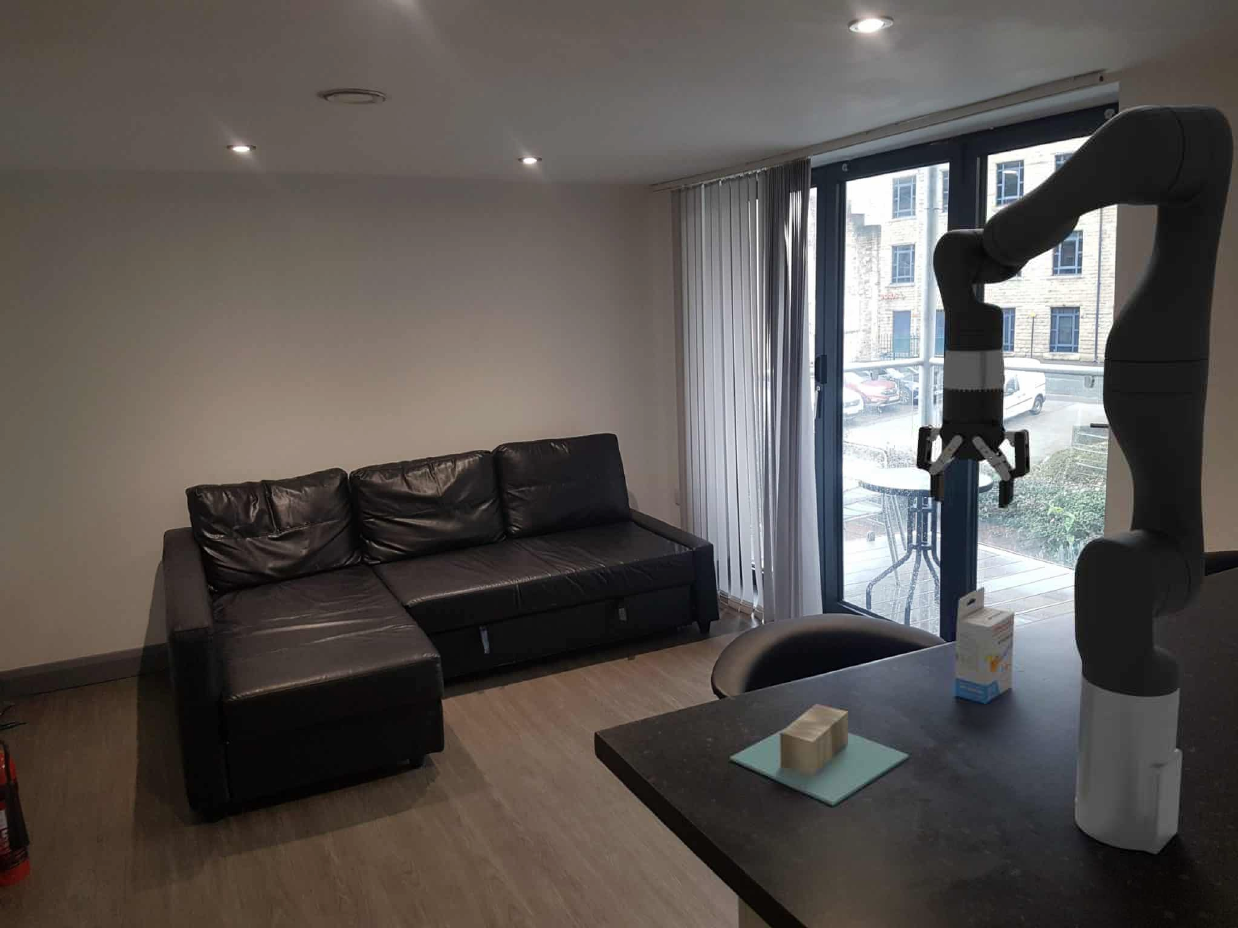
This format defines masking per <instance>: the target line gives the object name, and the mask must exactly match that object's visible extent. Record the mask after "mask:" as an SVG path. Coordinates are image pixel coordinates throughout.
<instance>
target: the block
mask: <svg viewBox="0 0 1238 928" xmlns="http://www.w3.org/2000/svg"><path fill="white" fill-rule="evenodd" d="M783 729H784V730H783ZM783 729H782V730H783V731H782V732H780V758H781V766H782V767H786V768H789V769H792V770H796V771H799V772H802V773H805V774H809V775H812V776H813V775H815V774H816V773H817V772H818V771H819V770H820V769H821V768H822V767H823V766H824V765H825V764H827V763H828V762H829V761H830V760H831V759H832V758H833V757H834V756H835V755H836V754H837V753H839V752H840V751H841V750H842V749H843V748H844V747H845V746H846V745H847V744H848V732H849V711H848V710H843V709H838V708H835V707H830V706H827V705H824V704H823V705H822V704H818V703H815V704H814V705H813V706H812V707H810V708H809V709H808V710H806V712H804V713H803V714H802V715H800V716H799V717H798V718H797V719H796V720H794V721H793V722H791V723H790V724H789V725H788V726H787V727H785V728H783Z"/></svg>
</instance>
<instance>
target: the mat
mask: <svg viewBox="0 0 1238 928" xmlns="http://www.w3.org/2000/svg"><path fill="white" fill-rule="evenodd" d="M784 729H785V728H783V729H781V730H779V731H778V732H775V733H773V734H772V735H770V736H768V737H766V738H764V739H762V740H760V741H758V742H756V743H754V744H752V745H751V746H749V747H747V748H745V749H743V750H741V751H740V752H737V753H735V754H734V755H731V756H729V757H730V758H729V759H730V761H732V762H734V763H737V764H738V765H741V766H742V767H745V768H747V769H750V770H752V771H755V772H757V773H759V774H760V775H764V776H766V777H769V778H771V779H772V780H775V781H777V782H780V783H781V784H783V785H786V786H787V787H790V788H792V789H794V790H797V791H799V792H802V793H804V794H806V795H807V796H810V797H812V798H815V799H817V800H819V801H822V802H824V803H826V804H828V805H831V806H833V807H834V806H835V805H837V804H838V803H840V802H841V801H843V800H845V799H846V798H848V797H849V796H851V795H853V794H855V793H856V792H857V791H858V790H860V789H862V788H863V787H865V786H867V785H869V784H870V783H871V782H873V781H874V780H876V779H878V778H879V777H881V776H882V775H884V774H886V772H888V771H890V770H892V769H893V768H895V767H896V766H897V765H900V764H901V763H902V762H905V761H906V760H907V759H908V758H909V754H908V753H904V752H902V751H899V750H897V749H894V748H891V747H888V746H886V745H883V744H880V743H878V742H875V741H874V740H873V741H872V740H870V739H868V738H864V737H862V736H859V735H856V734H853V733H851V732H849V731H848V744H847V745H846V746H845V747H844V748H843V749H842V750H841V751H840V752H839V753H837V754H836V755H835V756H834V757H833V758H832V759H831V760H830V761H829V762H828V763H827V764H825V765H824V766H823V767H822V768H821V769H820V770H819V771H818V772H817V773H816V774H815V775H813V776H812V775H809V774H805V773H802V772H799V771H796V770H792V769H789V768H786V767H782V766H781V758H780V732H782V731H783V730H784Z"/></svg>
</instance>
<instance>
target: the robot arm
mask: <svg viewBox="0 0 1238 928" xmlns="http://www.w3.org/2000/svg"><path fill="white" fill-rule="evenodd" d="M1229 122H1230V121H1229V119H1228V118H1227V116H1226V115H1225V114H1224V113H1223V112H1222V111H1221V110H1220V109H1218V107H1214V106H1212V105H1205V104H1147V105H1139V106H1134V107H1130V108H1127V109H1124V110H1121V111H1120V112H1118V113H1117V114H1115V115H1114V116H1113V117H1111V118H1110V119H1109V120H1107V121H1106V122H1105V123H1104V124H1103V125H1102V126H1101V127H1099V128H1098V129H1096V131H1094V133H1093V134H1092V135H1091V136H1089V138H1088V139H1087V140H1086V141H1084V142H1083V143H1082V144H1081V146H1080V147H1079V148H1077V149H1076V151H1074V153H1072V154H1071V155H1070V156H1069V157H1068V158H1067V159H1066V160H1065V161H1063V163H1062V164H1060V165H1059V167H1057V168H1056V170H1054V172H1052V173H1051V174H1050V175H1049V176H1048V177H1047V178H1046V179H1045V180H1043V181H1042V182H1041V183H1040V184H1039V185H1037V186H1036V187H1034V188H1033V189H1031V190H1029V192H1027V193H1025V194H1024V195H1022V196H1021V197H1019V198H1017V199H1015V200H1014V201H1012V202H1011V203H1009V204H1007V205H1006V206H1004V207H1003V208H1001V209H999V210H998V211H997V212H995V213H994V214H993V215H992V216H991V217H990V218H989V219H988V220H987V222H986V223H985V225H984V228H972V229H971V228H970V229H967V228H966V229H953V230H949V231H947V232H945V233H943V235H941V237H940V238H939V239H938V241H937V242H936V244H935V247H934V250H933V254H932V255H933V256H932V267H933V272H934V276H935V280H936V284H937V287H938V290H939V294H940V298H941V302H942V308H943V312H944V315H945V322H946V325H945V330H946V331H945V333H946V334H945V356H944V363H943V380H942V381H943V383H942V385H943V388H942V389H943V391H942V396H943V397H942V425H941V427H940V426H939V427H938V426H933V425H932V424H931V423H929V424H925V425H922V426H920V427H919V428H918V435H917V447H916V449H917V451H916V462H915V463H916V464H915V465H916V468H917V469H918V470H923V471H925V472H927V473H928V474H929V478H930V479H929V494H930V497H931V498H933V501H934V502H937V503H941V502H943V501H944V500H945V492H946V491H945V483H946V481H945V480H946V474H945V473H944V471H945V469H946V468H947V466H949V464H950V463H951V462H952V461H953V460H954V459H955V458H956V459H957V460H958V461H966V460H971V461H974V462H983V461H986V462H987V463H988V464H989V466H990V467H991V468H992V469H994V470H995V472H996V474H998V476H999V477H1000V478H1001V480H999V481H998V503H997V505H998V509H1007V508H1008V507H1009V505H1010V504H1012V503H1013V501H1014V490H1015V488H1014V487H1015V479H1018V478H1023V477H1025V476H1026V475H1028V474H1029V473H1030V472H1031V455H1030V454H1031V453H1030V432H1029V430H1028V429H1026V428H1022V429H1019V430H1006V429H1005V426H1004V399H1005V397H1004V396H1005V395H1004V393H1005V384H1006V375H1005V359H1004V350H1003V349H1004V324H1005V323H1004V322H1005V321H1004V312H1003V309H1002V307H1001V306H1000V305H998V304H997V305H996V304H994V303H991V302H990V303H989V302H984V301H980V300H978V298H977V297H976V294H975V292H974V290H973V286H972V285H974V286H975V285H990V284H999V283H1003V282H1005V281H1008V280H1011V279H1013V278H1014V277H1016V276H1017V274H1018V273H1020V272H1021V270H1022V269H1023V268H1024V267H1025V266H1026V265H1027V264H1028V263H1029V261H1030V260H1033V259H1036V258H1037V257H1039V256H1041V255H1042V254H1044V253H1047V252H1049V251H1051V250H1053V249H1054V248H1056V247H1057V246H1059V245H1060V244H1062V243H1063V242H1065V241H1066V239H1068V238H1069V237H1070V236H1071V234H1072V233H1073V232H1074V231H1075V228H1076V227H1077V226H1078V223H1079V221H1080V217H1082V216H1084V215H1086V214H1088V213H1091V212H1094V211H1096V210H1097V211H1098V210H1101V209H1105V208H1107V207H1112V206H1117V205H1122V204H1123V205H1129V206H1135V207H1136V206H1157V210H1156V224H1155V225H1156V226H1155V233H1154V240H1153V241H1154V242H1153V247H1152V250H1151V255H1150V258H1149V260H1148V264H1147V265H1146V268H1145V270H1144V272H1143V274H1142V276H1141V277H1140V279H1139V281H1138V283H1137V284H1136V286H1135V287H1134V289H1133V290H1132V292H1131V293H1130V295H1129V296H1128V298H1127V299H1126V301H1125V303H1124V305H1123V306H1122V308H1121V309H1120V311H1119V313H1118V314H1117V317H1116V318H1115V320H1114V322H1113V324H1112V325H1111V328H1110V330H1109V333H1108V334H1107V338H1106V342H1105V347H1104V359H1103V375H1102V378H1103V379H1102V406H1103V409H1104V413H1105V417H1106V420H1107V423H1108V425H1109V427H1110V429H1111V432H1112V434H1113V435H1114V438H1115V439H1116V442H1117V444H1118V445H1119V448H1120V450H1121V452H1122V454H1123V455H1124V457H1125V459H1126V462H1127V465H1128V467H1129V471H1130V473H1131V480H1132V488H1133V502H1132V503H1133V504H1132V505H1133V506H1132V518H1131V523H1130V529H1129V531H1124V532H1118V533H1113V534H1107V535H1103V536H1100V537H1096V538H1094V539H1092V540H1090V541H1089V542H1088V543H1086V544H1085V545H1084V546H1083V548H1082V549H1081V551H1080V552H1079V553H1080V554H1078V558H1077V561H1076V564H1075V569H1074V570H1075V571H1074V580H1073V581H1074V582H1073V593H1074V594H1073V595H1074V598H1073V599H1074V602H1073V603H1074V605H1073V607H1074V640H1075V641H1074V642H1075V644H1076V648H1077V651H1078V654H1079V657H1080V660H1081V679H1080V680H1081V681H1080V699H1079V700H1080V701H1079V721H1078V722H1079V723H1078V743H1077V744H1078V745H1077V761H1076V762H1077V763H1076V765H1077V767H1076V785H1075V786H1076V790H1075V800H1074V801H1075V802H1074V805H1075V811H1074V813H1075V814H1074V819H1075V823H1076V825H1077V826H1078V828H1079V829H1081V830H1082V832H1084V833H1085V834H1086V835H1087V836H1089V837H1091V838H1093V839H1095V840H1097V841H1098V842H1101V843H1104V844H1107V845H1109V846H1112V847H1117V848H1120V849H1125V850H1133V851H1134V850H1136V851H1144V852H1148V853H1151V854H1154V855H1157V854H1158V853H1159V852H1161V850H1162V849H1163V848H1164V847H1165V846H1166V845H1167V844H1168V843H1169V841H1170V840H1171V839H1172V838H1173V837H1174V836H1175V835H1176V834H1177V832H1178V825H1179V824H1178V823H1179V809H1180V808H1179V807H1180V794H1181V793H1180V790H1181V779H1182V766H1183V765H1182V763H1183V759H1182V758H1183V752H1182V750H1181V749H1178V748H1176V745H1177V734H1178V733H1177V732H1178V717H1179V715H1178V714H1179V704H1180V703H1179V702H1180V687H1181V670H1182V668H1181V663H1180V662H1179V659H1178V658H1177V657H1176V656H1175V654H1173V653H1172V652H1170V651H1169V650H1167V649H1165V648H1163V647H1160V646H1159V645H1155V644H1154V619H1157V618H1163V617H1166V616H1171V615H1173V614H1177V613H1180V612H1182V611H1183V612H1184V611H1185V610H1186V609H1188V608H1190V607H1191V606H1192V605H1193V604H1195V602H1196V601H1197V599H1198V598H1199V596H1200V594H1201V592H1202V589H1203V585H1204V582H1205V581H1204V580H1205V571H1206V564H1205V563H1206V562H1205V561H1206V554H1205V553H1206V551H1205V536H1204V518H1203V517H1204V516H1203V500H1202V499H1203V498H1202V475H1203V473H1202V471H1203V454H1204V430H1205V426H1204V425H1205V413H1206V405H1207V394H1208V384H1209V383H1208V382H1209V368H1210V351H1211V349H1210V345H1211V344H1210V342H1211V339H1210V337H1211V323H1212V322H1211V321H1212V320H1211V319H1212V307H1213V298H1214V296H1213V295H1214V290H1215V289H1214V288H1215V275H1216V267H1217V259H1218V251H1219V246H1220V238H1221V233H1222V228H1223V222H1224V217H1225V212H1226V206H1227V201H1228V195H1229V189H1230V184H1231V178H1232V169H1233V164H1234V163H1233V162H1234V139H1233V138H1234V137H1233V131H1232V127H1231V125H1230V123H1229ZM938 436H939V438H940V439H941V441H942V442H943V443H944V445H945V448H944V449H943V450H942V452H941V453H939V455H938V457H937V458H936V460H935V461H933V460H932V455H933V454H932V453H933V444H934V443H933V442H935V441H936V440H937V438H938ZM1005 440H1007V441H1008V442H1009V445H1010V447H1012V448H1014V449H1013V450H1014V467H1013V466H1012V465H1011V464H1010V462H1009V461H1008V458H1007V456H1006V455H1005V453H1004V452H1003V450H1002V449H1001V448H1000V446H1001V445H1002V444H1003V443H1004V442H1005Z"/></svg>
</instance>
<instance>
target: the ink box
mask: <svg viewBox="0 0 1238 928" xmlns="http://www.w3.org/2000/svg"><path fill="white" fill-rule="evenodd" d="M971 600H974V602H973V603H971V604H969V605H968V603H969V602H971ZM1014 629H1015V612H1014V611H1013V612H1012V611H1008V610H1004V609H998V608H993V607H990V606H986V605H985V587H984V586H981V587H980V588H978V589H976V590H973V591H971V592H970V593H968V594H966V595H964V596H963V597H961V598H959V599H958V603H957V619H956V632H955V634H956V636H955V640H956V642H955V644H956V645H955V669H954V670H955V672H954V675H955V678H954V679H955V680H954V681H955V682H954V696H955V697H958V698H963V699H965V700H966V699H967V700H969V701H973V702H976V703H979V704H980V703H981V704H984V705H986V704H988V703H989V702H991V701H992V700H994V699H996V697H998V696H999V695H1001V694H1003V693H1004V692H1006V691H1007V690H1009V689H1011V688H1012V680H1013V679H1012V678H1013V655H1014V654H1013V651H1014V650H1013V649H1014V633H1015V632H1014Z"/></svg>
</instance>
